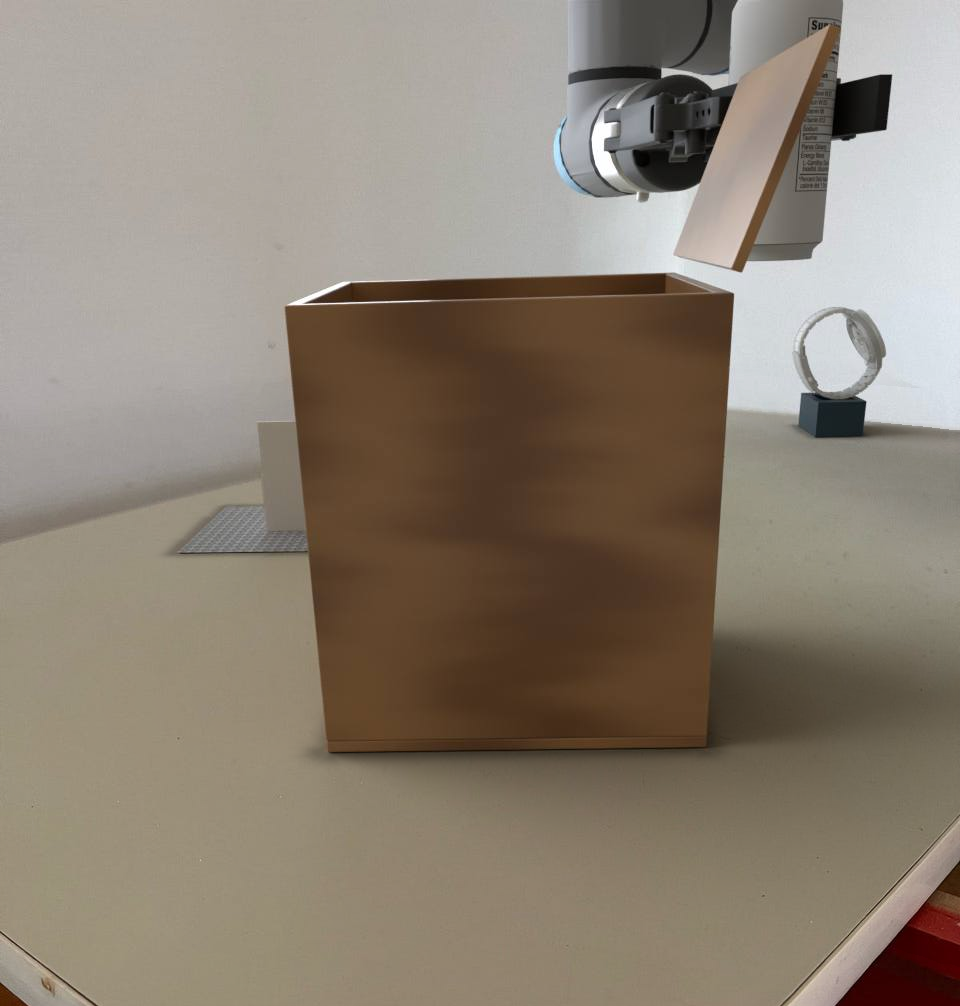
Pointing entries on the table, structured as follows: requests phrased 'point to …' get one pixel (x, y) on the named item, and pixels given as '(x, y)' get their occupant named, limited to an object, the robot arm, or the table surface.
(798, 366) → the watch
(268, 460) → the architectural model
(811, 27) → the energy drink can
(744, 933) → the table surface
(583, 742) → the carton
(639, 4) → the robot arm
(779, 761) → the table surface
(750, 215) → the flap
